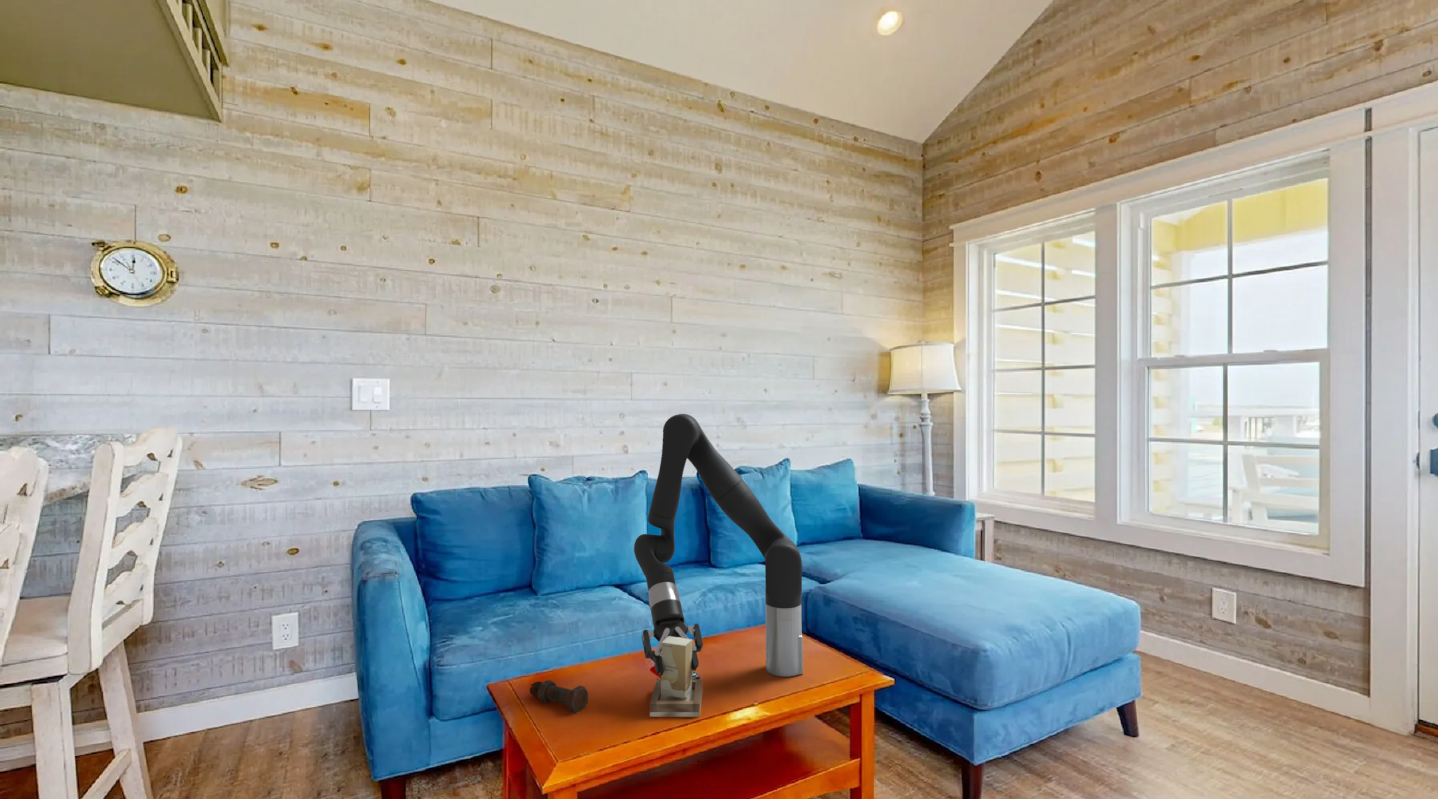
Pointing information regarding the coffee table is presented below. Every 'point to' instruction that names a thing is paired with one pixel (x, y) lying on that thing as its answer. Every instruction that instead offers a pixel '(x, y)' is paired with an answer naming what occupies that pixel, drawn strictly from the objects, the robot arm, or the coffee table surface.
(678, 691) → the skincare box
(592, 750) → the coffee table surface
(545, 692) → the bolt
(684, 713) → the tray
